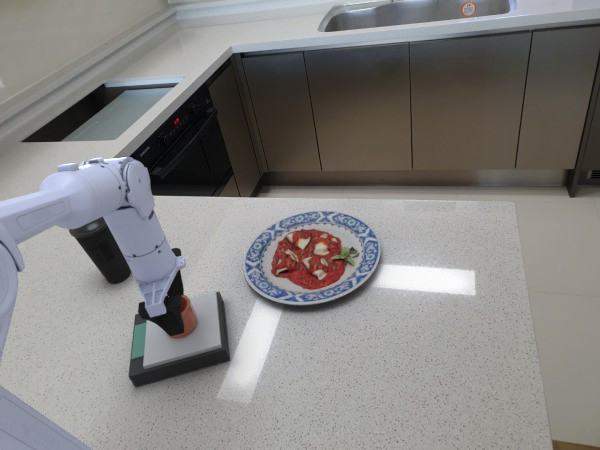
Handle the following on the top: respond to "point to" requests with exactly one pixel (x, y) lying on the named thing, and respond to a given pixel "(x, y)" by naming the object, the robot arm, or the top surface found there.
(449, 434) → the top surface
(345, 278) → the ceramic plate
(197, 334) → the scale
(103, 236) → the drinking cup
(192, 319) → the flower pot
